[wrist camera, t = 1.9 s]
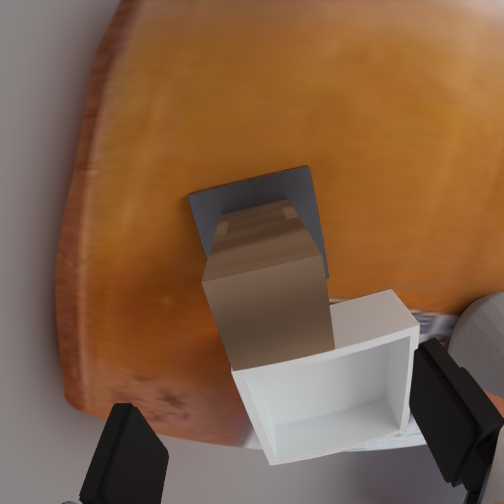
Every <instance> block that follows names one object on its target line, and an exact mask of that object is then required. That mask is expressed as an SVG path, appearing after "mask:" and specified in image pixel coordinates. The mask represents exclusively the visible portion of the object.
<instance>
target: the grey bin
mask: <svg viewBox="0 0 504 504" xmlns="http://www.w3.org/2000/svg"><path fill="white" fill-rule="evenodd" d="M330 312H331V319H332V327H333V335H334V343H335V350H332V351H328V352H324V353H320V354H316V355H312V356H308V357H303V358H299V359H294V360H290V361H285V362H281V363H276V364H271V365H266V366H261V367H255V368H250V369H244V370H239V371H233V369H232V367H231V373H232V376H233V378H234V381H235V383H236V386H237V388H238V391H239V393H240V396H241V398H242V401H243V403H244V406H245V408H246V410H247V413H248V415H249V418H250V420H251V422H252V425H253V427H254V429H255V432H256V434H257V436H258V439H259V441H260V443H261V446H262V448H263V450H264V453H265V455H266V457H267V459H268V462H269V464H270V465H278V464H284V463H290V462H295V461H301V460H306V459H310V458H315V457H320V456H324V455H329V454H333V453H337V452H341V451H345V450H349V449H352V448H356V447H360V446H363V445H366V444H370V443H373V442H376V441H379V440H383V439H386V438H389V437H392V436H395V435H397V434H400V433H403V432H406V430H407V425H408V419H409V414H410V408H409V396H410V388H411V379H412V369H413V357H414V350H415V349H418V343H419V329H420V324H419V323H418V322H417V320H416V319H415V318H414V316H413V315H412V314H411V313H410V311H409V310H408V309H407V308H406V306H405V305H404V304H403V303H402V302H401V300H400V299H399V298H398V297H397V295H396V294H395V293H394V292H393V291H392V289H389V290H385V291H382V292H378V293H374V294H371V295H367V296H363V297H360V298H356V299H352V300H348V301H344V302H340V303H337V304H333V305H330Z"/></svg>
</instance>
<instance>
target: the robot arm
mask: <svg viewBox="0 0 504 504" xmlns="http://www.w3.org/2000/svg"><path fill="white" fill-rule="evenodd" d="M409 408H410V411H411V413H412V415H413V417H414V419H415V421H416V423H417V425H418V427H419V428H420V430H421V432H422V434H423V436H424V438H425V440H426V442H427V444H428V447H429V448H430V451H431V452H432V455H433V457H434V459H435V461H436V463H437V465H438V467H439V469H440V472H441V473H442V476H443V478H444V480H445V481H446V482H447V483H449V482H451V484H452V486H453V487H456V486H458V485H460V484H462V483H463V484H464V486H465V488H466V490H467V494H466V497H465V499H464V502H463V504H504V418H503V417H502V416H501V414H500V413H499V411H498V410H497V409H496V407H495V406H494V404H493V403H492V402H491V400H490V399H489V398H488V396H487V395H486V394H485V392H484V391H483V390H482V388H481V387H480V386H479V385H478V383H477V382H476V381H475V379H474V378H473V377H472V376H471V374H470V373H469V372H468V371H467V370H466V369H465V368H464V367H459V366H458V365H457V363H456V362H455V361H454V360H453V358H452V357H451V356H450V355H449V353H448V352H447V351H446V350H445V348H444V347H443V346H442V345H441V344H440V342H439V341H438V340H437V339H436V338H433V339H430V340H428V341H425V342H422V343H420V344H419V345H418V349H415V350H414V357H413V369H412V379H411V388H410V396H409ZM168 460H169V455H168V451H167V449H166V448H165V446H164V445H163V443H162V442H161V441H160V440H159V438H158V437H157V435H156V434H155V432H154V431H153V430H152V428H151V427H150V425H149V424H148V422H147V421H146V420H145V418H144V417H143V415H142V414H141V412H140V411H139V409H138V408H137V407H134V406H133V405H132V404H131V403H116V404H114V406H113V407H112V410H111V412H110V415H109V417H108V420H107V422H106V425H105V427H104V430H103V432H102V435H101V437H100V440H99V442H98V445H97V448H96V451H95V453H94V456H93V458H92V461H91V464H90V466H89V469H88V472H87V474H86V477H85V480H84V483H83V486H82V489H81V491H80V495H79V496H80V499H79V500H77V499H75V498H65V499H62V500H61V501H59V502H58V503H57V504H161V498H162V492H163V486H164V480H165V476H166V470H167V465H168Z"/></svg>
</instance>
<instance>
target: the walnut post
mask: <svg viewBox="0 0 504 504" xmlns="http://www.w3.org/2000/svg"><path fill="white" fill-rule="evenodd" d="M201 283H202V286H203V289H204V292H205V295H206V298H207V301H208V304H209V307H210V310H211V312H212V315H213V318H214V321H215V324H216V326H217V329H218V332H219V335H220V337H221V340H222V343H223V346H224V348H225V351H226V354H227V356H228V359H229V362H230V364H231V367H232V369H233V371H239V370H244V369H250V368H255V367H261V366H266V365H271V364H276V363H281V362H285V361H290V360H294V359H299V358H303V357H308V356H312V355H316V354H320V353H324V352H328V351H332V350H335V343H334V335H333V327H332V319H331V312H330V305H329V298H328V291H327V284H326V278H325V271H324V265H323V259H322V254H321V252H320V251H319V249H318V247H317V246H316V244H315V242H314V241H313V239H312V237H311V236H310V234H309V232H308V231H307V229H306V227H305V226H304V224H303V222H302V221H301V219H300V218H299V216H298V214H297V213H296V211H295V209H294V208H293V206H292V205H291V203H290V201H289V200H288V199H286V200H282V201H278V202H273V203H269V204H265V205H260V206H256V207H252V208H248V209H243V210H239V211H235V212H231V213H227V214H223V215H221V216H220V220H219V223H218V226H217V230H216V233H215V236H214V240H213V243H212V246H211V250H210V253H209V256H208V260H207V263H206V267H205V270H204V274H203V277H202V281H201Z"/></svg>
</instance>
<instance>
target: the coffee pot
mask: <svg viewBox="0 0 504 504" xmlns="http://www.w3.org/2000/svg"><path fill="white" fill-rule="evenodd" d="M448 353H449V355H450V356H451V357H452V358H453V360H454V361H455V362H456V363H457V365H458V366H459V367H464V368H465V369H466V370H467V371H468V372H469V373H470V374H471V376H472V377H473V378H474V379H475V381H476V382H477V383H478V385H479V386H480V387H481V388H482V389H483V390H485V391H487V392H489V393H492V394H494V395H496V396H499V397H501V398H503V399H504V291H498V292H493V293H491V294H489V295H487V296H484V297H482V298H480V299H478V300H476V301H475V302H473V303H472V304H471V305H470V306H469V307H468V308H467V309H466V310H465V311H464V312H463V313H462V315H461V316H460V317H459V319H458V321H457V323H456V325H455V326H454V329H453V332H452V336H451V339H450V342H449V346H448Z"/></svg>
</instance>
